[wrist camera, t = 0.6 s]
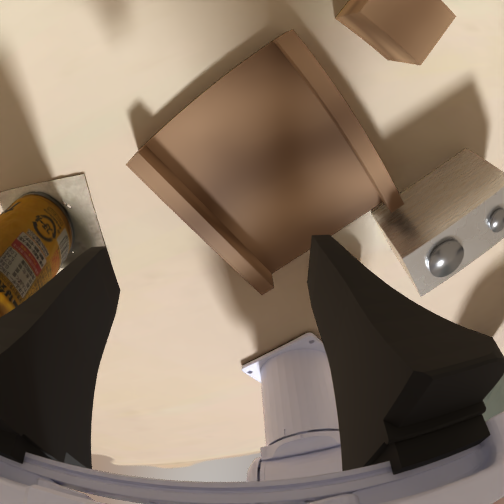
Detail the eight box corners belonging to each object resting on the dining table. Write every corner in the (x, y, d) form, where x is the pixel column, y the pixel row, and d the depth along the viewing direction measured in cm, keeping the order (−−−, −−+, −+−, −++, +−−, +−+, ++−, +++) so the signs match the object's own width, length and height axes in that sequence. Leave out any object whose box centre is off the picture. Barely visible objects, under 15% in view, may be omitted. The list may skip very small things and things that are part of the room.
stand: (388, 187, 20) (404, 204, 18) (259, 271, 24) (261, 295, 22) (285, 32, 15) (292, 29, 12) (138, 150, 18) (126, 164, 16)
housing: (478, 188, 20) (522, 227, 16) (391, 248, 23) (422, 299, 19) (465, 147, 19) (516, 181, 14) (370, 212, 21) (404, 262, 17)
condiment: (-2, 192, 19) (-98, 295, 9) (85, 172, 19) (-20, 298, 9) (29, 268, 23) (-35, 381, 13) (112, 263, 23) (58, 402, 13)
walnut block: (418, 17, 14) (455, 16, 10) (387, 59, 15) (420, 65, 12) (369, -25, 12) (399, -38, 9) (334, 18, 14) (359, 11, 11)
